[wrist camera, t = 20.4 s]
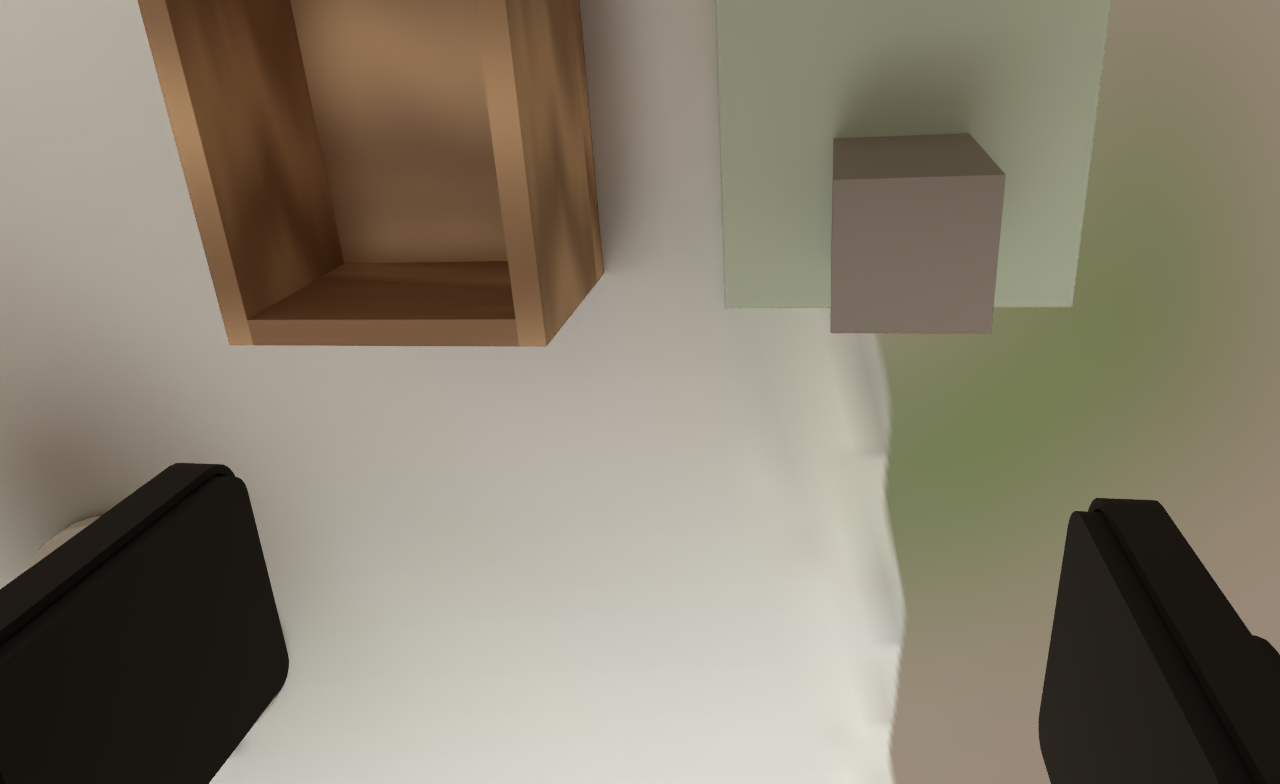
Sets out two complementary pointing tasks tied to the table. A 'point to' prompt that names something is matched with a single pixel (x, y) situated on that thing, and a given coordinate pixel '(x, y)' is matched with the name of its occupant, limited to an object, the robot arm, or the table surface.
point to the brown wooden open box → (385, 166)
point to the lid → (906, 156)
